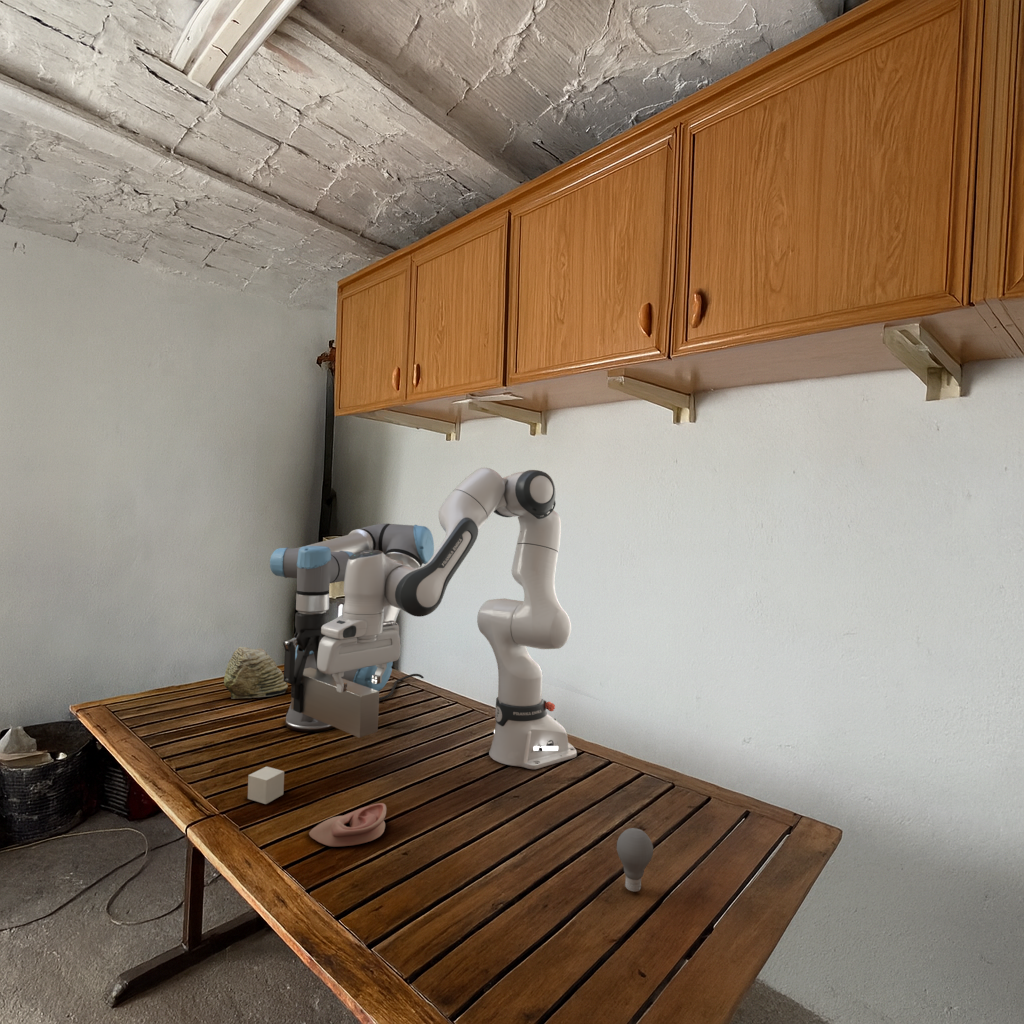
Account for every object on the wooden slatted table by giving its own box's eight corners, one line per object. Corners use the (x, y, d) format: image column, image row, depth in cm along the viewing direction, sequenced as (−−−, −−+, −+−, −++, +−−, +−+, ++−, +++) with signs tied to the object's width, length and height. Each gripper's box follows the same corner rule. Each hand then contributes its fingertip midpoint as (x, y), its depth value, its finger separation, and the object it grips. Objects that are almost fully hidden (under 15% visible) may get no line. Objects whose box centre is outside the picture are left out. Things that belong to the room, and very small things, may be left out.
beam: (309, 703, 155) (310, 667, 155) (377, 731, 139) (379, 691, 139) (290, 708, 151) (292, 671, 151) (359, 737, 135) (361, 696, 135)
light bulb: (610, 878, 109) (613, 821, 108) (645, 878, 109) (647, 821, 109) (619, 901, 103) (622, 840, 103) (655, 900, 103) (658, 839, 103)
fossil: (219, 695, 195) (221, 647, 195) (279, 686, 207) (281, 640, 207) (229, 703, 188) (231, 653, 188) (290, 693, 201) (292, 646, 200)
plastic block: (265, 789, 136) (266, 766, 136) (283, 794, 134) (284, 771, 134) (247, 798, 131) (248, 775, 131) (265, 804, 129) (266, 780, 129)
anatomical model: (301, 820, 116) (331, 792, 127) (300, 842, 116) (330, 812, 127) (368, 831, 113) (393, 801, 124) (368, 853, 113) (392, 821, 124)
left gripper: (334, 605, 160) (331, 696, 160) (268, 613, 146) (265, 713, 146) (353, 609, 155) (349, 703, 156) (286, 618, 141) (282, 721, 142)
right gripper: (389, 617, 149) (386, 675, 149) (314, 627, 133) (311, 693, 133) (408, 621, 145) (405, 681, 145) (332, 632, 129) (329, 700, 129)
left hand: (308, 708), depth 151 cm, fingers closed on beam, 5 cm apart
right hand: (359, 687), depth 139 cm, fingers open, 8 cm apart
